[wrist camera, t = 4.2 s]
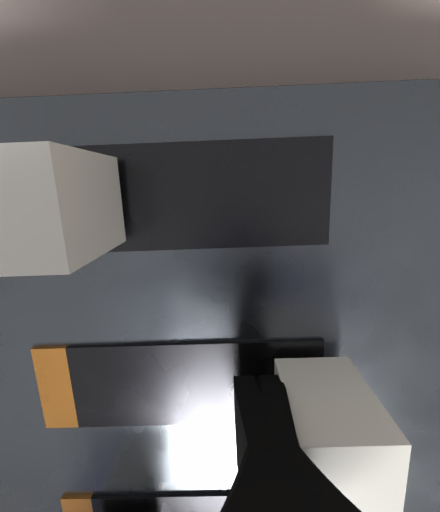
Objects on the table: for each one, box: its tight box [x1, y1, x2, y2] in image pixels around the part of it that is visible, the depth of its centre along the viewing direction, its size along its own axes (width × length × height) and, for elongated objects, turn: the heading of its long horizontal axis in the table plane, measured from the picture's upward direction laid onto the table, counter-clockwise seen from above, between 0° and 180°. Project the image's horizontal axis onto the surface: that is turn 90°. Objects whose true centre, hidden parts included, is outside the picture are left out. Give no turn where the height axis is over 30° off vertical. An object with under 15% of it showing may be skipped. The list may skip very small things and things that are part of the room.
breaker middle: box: [274, 357, 412, 512], centre depth 9 cm, size 2×2×4 cm
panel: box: [0, 79, 440, 512], centre depth 12 cm, size 19×19×3 cm
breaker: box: [0, 141, 126, 277], centre depth 7 cm, size 2×2×4 cm
